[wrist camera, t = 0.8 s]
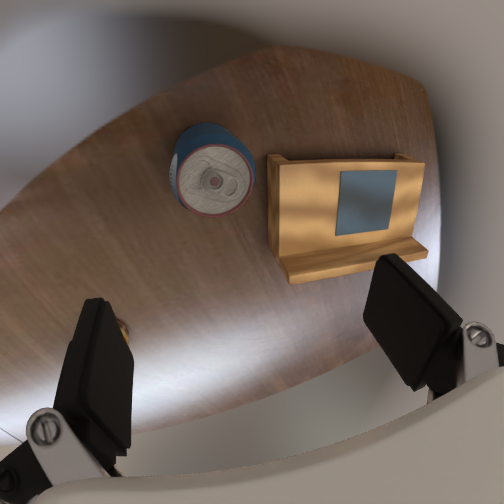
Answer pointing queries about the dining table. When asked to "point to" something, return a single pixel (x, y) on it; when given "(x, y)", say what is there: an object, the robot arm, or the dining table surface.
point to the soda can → (211, 171)
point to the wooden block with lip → (341, 214)
